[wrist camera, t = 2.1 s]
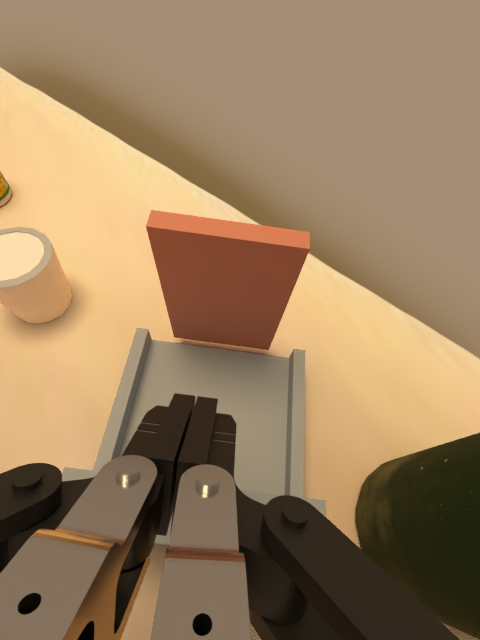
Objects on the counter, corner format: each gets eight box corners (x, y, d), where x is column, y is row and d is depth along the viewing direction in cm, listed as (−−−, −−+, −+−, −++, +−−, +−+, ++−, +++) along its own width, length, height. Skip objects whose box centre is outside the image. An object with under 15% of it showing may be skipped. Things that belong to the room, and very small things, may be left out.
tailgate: (268, 349, 32) (309, 248, 18) (174, 337, 31) (146, 226, 18) (269, 332, 32) (310, 224, 19) (178, 320, 32) (153, 202, 19)
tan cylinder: (92, 297, 35) (68, 252, 29) (34, 341, 32) (-5, 301, 26) (51, 264, 37) (20, 215, 31) (-8, 302, 34) (-54, 256, 28)
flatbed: (290, 550, 25) (326, 564, 18) (93, 525, 25) (42, 529, 17) (294, 367, 33) (321, 322, 25) (144, 347, 33) (124, 295, 25)
